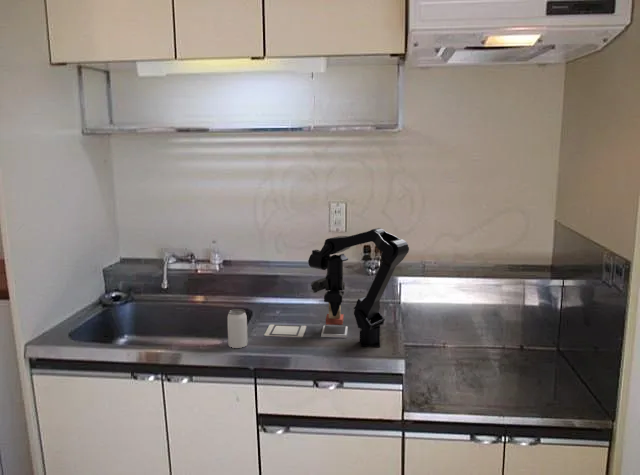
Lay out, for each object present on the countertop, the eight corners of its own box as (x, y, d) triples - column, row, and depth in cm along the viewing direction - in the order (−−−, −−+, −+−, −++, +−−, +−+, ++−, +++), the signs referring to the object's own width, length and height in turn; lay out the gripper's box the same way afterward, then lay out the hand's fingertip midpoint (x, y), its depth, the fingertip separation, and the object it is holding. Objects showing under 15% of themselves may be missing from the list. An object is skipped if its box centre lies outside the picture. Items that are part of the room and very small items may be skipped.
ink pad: (347, 328, 191) (347, 325, 191) (346, 337, 182) (346, 334, 182) (323, 328, 192) (323, 324, 191) (321, 336, 183) (321, 333, 183)
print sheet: (306, 326, 193) (306, 325, 193) (302, 337, 183) (302, 335, 182) (269, 325, 195) (269, 324, 195) (263, 335, 184) (263, 334, 184)
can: (249, 342, 178) (248, 309, 176) (245, 349, 172) (244, 315, 170) (231, 341, 179) (230, 308, 177) (226, 348, 172) (224, 314, 170)
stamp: (343, 319, 189) (343, 295, 187) (342, 325, 183) (342, 300, 181) (327, 319, 189) (327, 294, 188) (325, 324, 183) (325, 299, 182)
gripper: (315, 265, 193) (315, 305, 195) (309, 278, 174) (309, 322, 177) (345, 266, 192) (344, 306, 194) (342, 278, 173) (341, 323, 176)
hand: (334, 314), depth 186 cm, fingers closed on stamp, 4 cm apart
